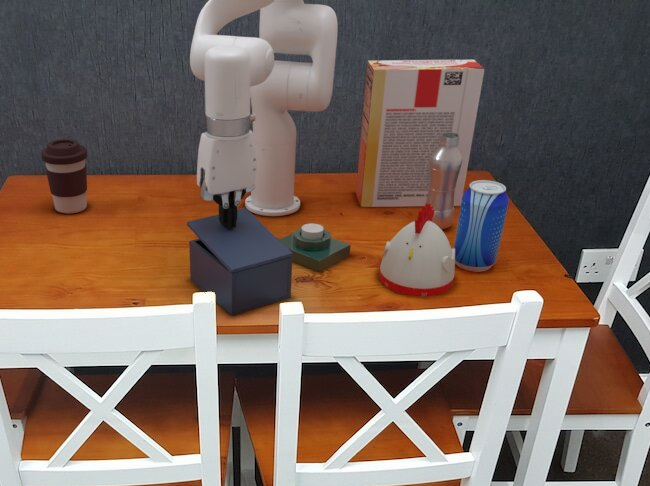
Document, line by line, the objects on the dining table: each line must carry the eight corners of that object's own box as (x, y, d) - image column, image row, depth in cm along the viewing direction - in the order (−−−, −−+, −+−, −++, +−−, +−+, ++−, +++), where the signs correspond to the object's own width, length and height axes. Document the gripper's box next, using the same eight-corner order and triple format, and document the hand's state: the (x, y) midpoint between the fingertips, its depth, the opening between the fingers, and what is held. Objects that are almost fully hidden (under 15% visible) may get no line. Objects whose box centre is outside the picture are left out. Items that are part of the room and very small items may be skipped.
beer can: (487, 277, 151) (504, 198, 142) (445, 267, 154) (458, 189, 145) (500, 260, 156) (516, 183, 147) (459, 251, 160) (472, 175, 151)
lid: (186, 225, 144) (186, 221, 144) (245, 211, 150) (245, 207, 149) (231, 273, 135) (231, 269, 134) (292, 256, 140) (293, 252, 139)
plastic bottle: (452, 234, 167) (468, 141, 155) (420, 231, 168) (433, 139, 157) (451, 222, 172) (466, 131, 161) (420, 219, 173) (433, 129, 162)
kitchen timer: (367, 284, 148) (375, 210, 140) (394, 256, 158) (404, 185, 150) (438, 303, 142) (451, 226, 134) (462, 273, 152) (476, 200, 144)
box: (190, 280, 150) (188, 240, 146) (246, 265, 156) (246, 226, 151) (231, 315, 139) (231, 274, 135) (290, 298, 144) (292, 257, 140)
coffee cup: (40, 213, 177) (30, 147, 169) (64, 197, 185) (55, 133, 176) (78, 219, 174) (70, 153, 166) (100, 203, 182) (94, 139, 173)
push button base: (272, 253, 160) (273, 233, 157) (304, 238, 166) (305, 218, 163) (318, 272, 153) (319, 251, 150) (349, 255, 159) (351, 235, 156)
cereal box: (452, 192, 186) (474, 59, 169) (460, 205, 179) (484, 68, 162) (355, 193, 186) (367, 60, 169) (360, 206, 179) (374, 69, 162)
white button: (296, 236, 157) (297, 228, 156) (310, 229, 159) (311, 221, 158) (313, 242, 154) (314, 234, 153) (327, 235, 157) (328, 227, 156)
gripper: (253, 112, 139) (251, 210, 149) (178, 126, 133) (182, 227, 143) (276, 123, 134) (273, 224, 144) (199, 138, 127) (202, 242, 138)
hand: (228, 225), depth 144 cm, fingers closed
